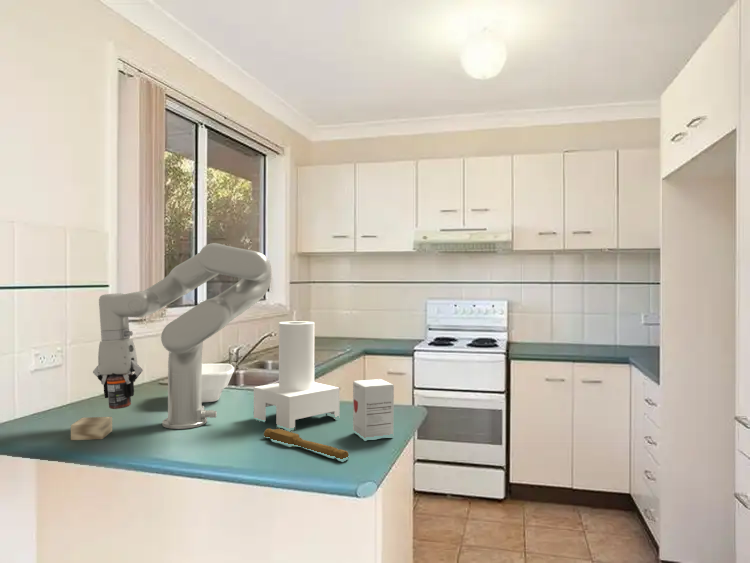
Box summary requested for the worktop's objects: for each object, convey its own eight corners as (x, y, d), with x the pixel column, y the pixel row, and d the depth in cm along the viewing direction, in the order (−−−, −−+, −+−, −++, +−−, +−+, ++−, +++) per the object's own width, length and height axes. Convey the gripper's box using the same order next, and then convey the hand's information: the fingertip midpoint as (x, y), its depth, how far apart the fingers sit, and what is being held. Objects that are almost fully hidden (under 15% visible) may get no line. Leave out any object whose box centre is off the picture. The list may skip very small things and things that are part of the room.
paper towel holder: (302, 409, 184) (302, 319, 183) (339, 420, 170) (339, 322, 170) (253, 419, 170) (254, 322, 170) (289, 431, 157) (289, 326, 157)
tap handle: (340, 452, 131) (261, 428, 150) (340, 465, 131) (261, 439, 150) (349, 449, 133) (270, 426, 153) (349, 461, 133) (270, 437, 153)
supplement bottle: (125, 403, 166) (122, 366, 166) (134, 405, 162) (132, 367, 162) (105, 408, 162) (102, 369, 161) (114, 410, 158) (112, 371, 158)
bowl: (164, 410, 181) (164, 375, 181) (172, 396, 203) (172, 364, 202) (233, 407, 186) (233, 372, 186) (234, 393, 208) (234, 362, 208)
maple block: (112, 430, 157) (112, 416, 157) (102, 439, 149) (102, 424, 149) (82, 431, 156) (82, 417, 156) (70, 440, 148) (70, 425, 148)
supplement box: (351, 433, 156) (352, 380, 156) (380, 429, 160) (381, 378, 159) (363, 442, 148) (364, 386, 147) (394, 438, 151) (394, 383, 151)
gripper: (149, 333, 164) (153, 393, 164) (97, 335, 167) (101, 394, 167) (134, 336, 156) (138, 399, 157) (80, 338, 159) (84, 400, 160)
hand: (119, 396), depth 162 cm, fingers closed on supplement bottle, 5 cm apart
